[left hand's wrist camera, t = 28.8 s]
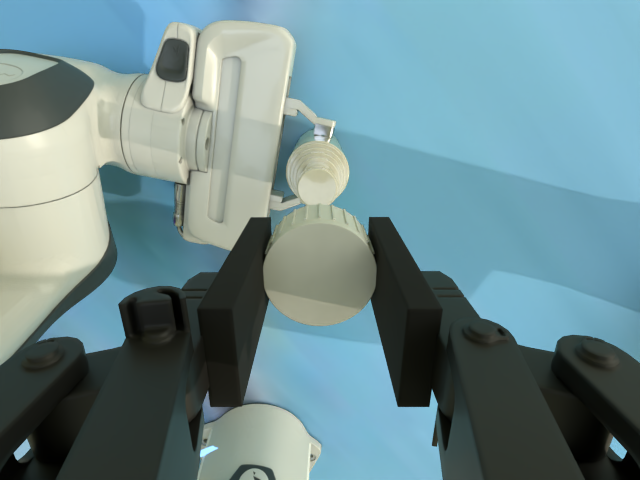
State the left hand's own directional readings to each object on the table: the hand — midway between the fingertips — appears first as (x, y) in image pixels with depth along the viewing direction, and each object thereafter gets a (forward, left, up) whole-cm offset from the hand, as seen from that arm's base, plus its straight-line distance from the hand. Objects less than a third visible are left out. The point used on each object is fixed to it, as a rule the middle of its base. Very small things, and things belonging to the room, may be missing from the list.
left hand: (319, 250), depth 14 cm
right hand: (0, +1, -21) cm, 21 cm away
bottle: (0, 0, -28) cm, 28 cm away
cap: (0, 0, +2) cm, 2 cm away
